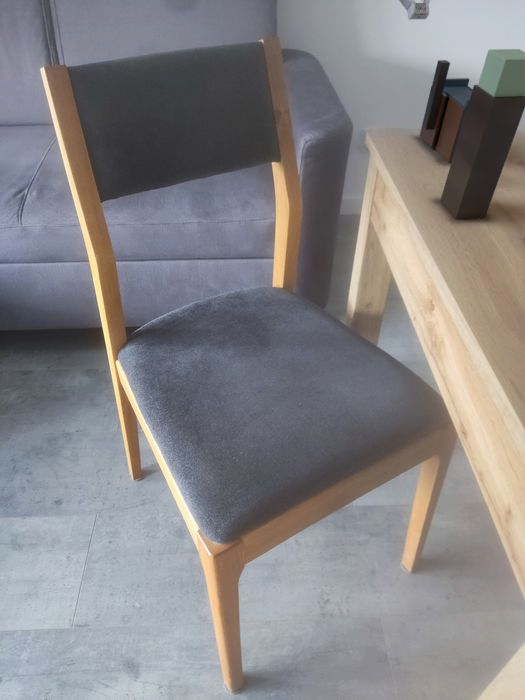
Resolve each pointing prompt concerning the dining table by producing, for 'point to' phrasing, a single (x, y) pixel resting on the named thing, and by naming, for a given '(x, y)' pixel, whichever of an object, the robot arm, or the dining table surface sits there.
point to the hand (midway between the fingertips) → (418, 17)
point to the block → (504, 73)
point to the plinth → (481, 153)
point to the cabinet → (452, 116)
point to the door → (435, 104)
